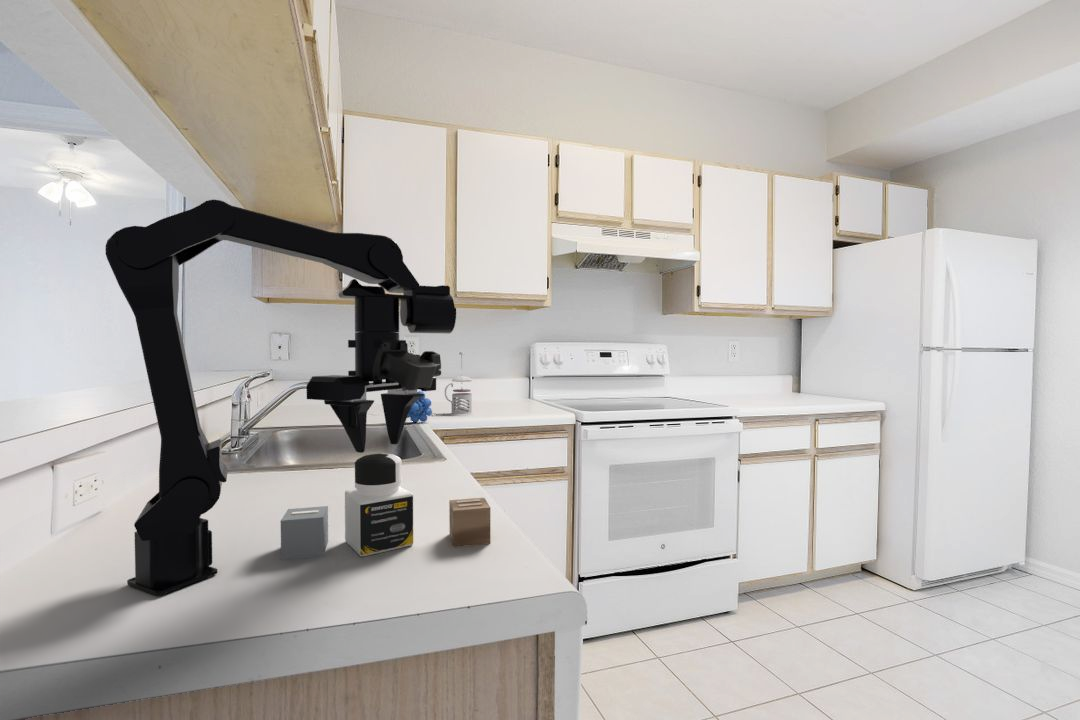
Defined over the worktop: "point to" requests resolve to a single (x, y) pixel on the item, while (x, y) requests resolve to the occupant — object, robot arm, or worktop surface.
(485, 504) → the walnut block two
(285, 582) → the worktop surface
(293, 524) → the slate block one
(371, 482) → the medicine bottle
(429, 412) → the blue knobby cluster
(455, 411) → the french press
